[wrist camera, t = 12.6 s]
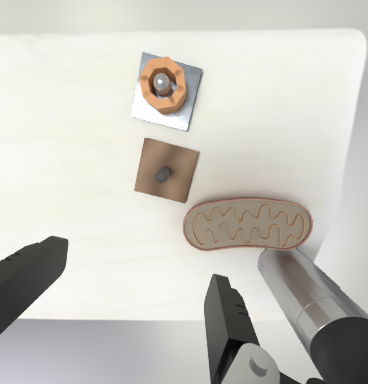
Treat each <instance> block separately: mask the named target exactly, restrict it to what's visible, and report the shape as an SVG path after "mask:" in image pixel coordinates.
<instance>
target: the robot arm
mask: <svg viewBox="0 0 368 384" xmlns="http://www.w3.org/2000/svg"><path fill="white" fill-rule="evenodd" d="M67 251H68V240H67V239H65V238H60V237H56V236H50V237H48V238H47V239H45V240H43V241H42V242H40V243H35V244H32V245H28V246H25V247H23V248H22V249H20V250H18V251H17V252H15V253H14V254H11V255H10V256H8V257H6V258H5V260H4V259H3V260H1V261H0V334H1V333H2V332H3V331H4V330H5V329H6V328H7V327H8V326H9V325H10V324H12V322H13V321H15V320H16V319H17V318H18V317H19V316H20V315H21V314H22V313H23V312H24V311H25V310H26V309H27V308H28V307H29V306H30V305H31V304H32V303H33V302H34V301H35V300H36V299H37V298H38V297H39V296H40V295H41V294H42V293H43V292H44V291H45V290H46V289H48V288H49V287H50V286H51V285H52V284H53V283H54V282H55V281H56V280H57V279H58V278H59V277H60V276H61V274H62V273H63V271H64V269H65V266H66V260H67ZM258 267H259V271H260V273H261V275H262V276H263V278H264V280H265V281H266V283H267V285H268V287H269V288H270V290H271V292H272V294H273V295H274V297H275V299H276V300H277V302H278V304H279V305H280V307H281V309H282V311H283V312H284V314H285V316H286V317H287V319H288V321H289V322H290V324H291V326H292V328H293V329H294V331H295V333H296V334H297V336H298V338H299V339H300V341H301V343H302V344H303V346H304V348H305V350H306V351H307V353H308V355H309V356H310V358H311V359H312V361H313V363H314V365H315V367H316V368H317V370H318V372H319V373H320V375H321V376H322V378H323V380H324V381H323V380H321V379H318V378H310V379H308V380H307V382H306V384H368V314H367V313H366V312H365V311H364V310H362V309H361V308H360V307H359V306H358V305H357V304H356V303H355V302H354V301H353V300H351V299H350V298H349V297H348V296H347V295H346V294H345V293H344V292H343V291H342V290H341V289H340V287H339V286H338V285H337V284H336V283H335V282H334V281H333V280H331V279H330V278H329V277H328V276H327V275H326V274H325V273H324V272H323V271H322V270H321V269H319V268H318V267H317V266H316V265H315V264H314V263H313V262H312V261H311V260H310V259H308V258H307V257H306V256H305V255H303V254H302V253H301V252H300V251H299V250H297V249H296V248H294V249H292V250H287V251H284V250H276V249H268V248H267V249H266V250H265V251H264V252H263V253H262V254H261V256H260V258H259V262H258ZM204 315H205V326H206V337H207V347H208V357H209V369H210V379H211V384H301V383H299V382H297V381H295V380H293V379H292V378H290V377H288V376H286V375H284V374H283V373H281V372H280V371H279V369H278V367H277V365H276V363H275V361H274V360H273V358H272V357H271V356H270V355H269V354H268V353H267V352H266V351H265V350H264V349H263V348H261V347H260V345H259V342H258V339H257V336H256V333H255V331H254V328H253V325H252V322H251V320H250V317H249V316H248V315H249V314H248V311H247V309H246V306H245V303H244V300H243V298H242V296H241V295H240V294H239V292H238V291H237V290H236V289H233V288H231V286H230V283H229V280H228V277H225V276H221V275H217V274H213V276H212V278H211V281H210V284H209V288H208V291H207V294H206V297H205V302H204Z"/></svg>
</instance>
